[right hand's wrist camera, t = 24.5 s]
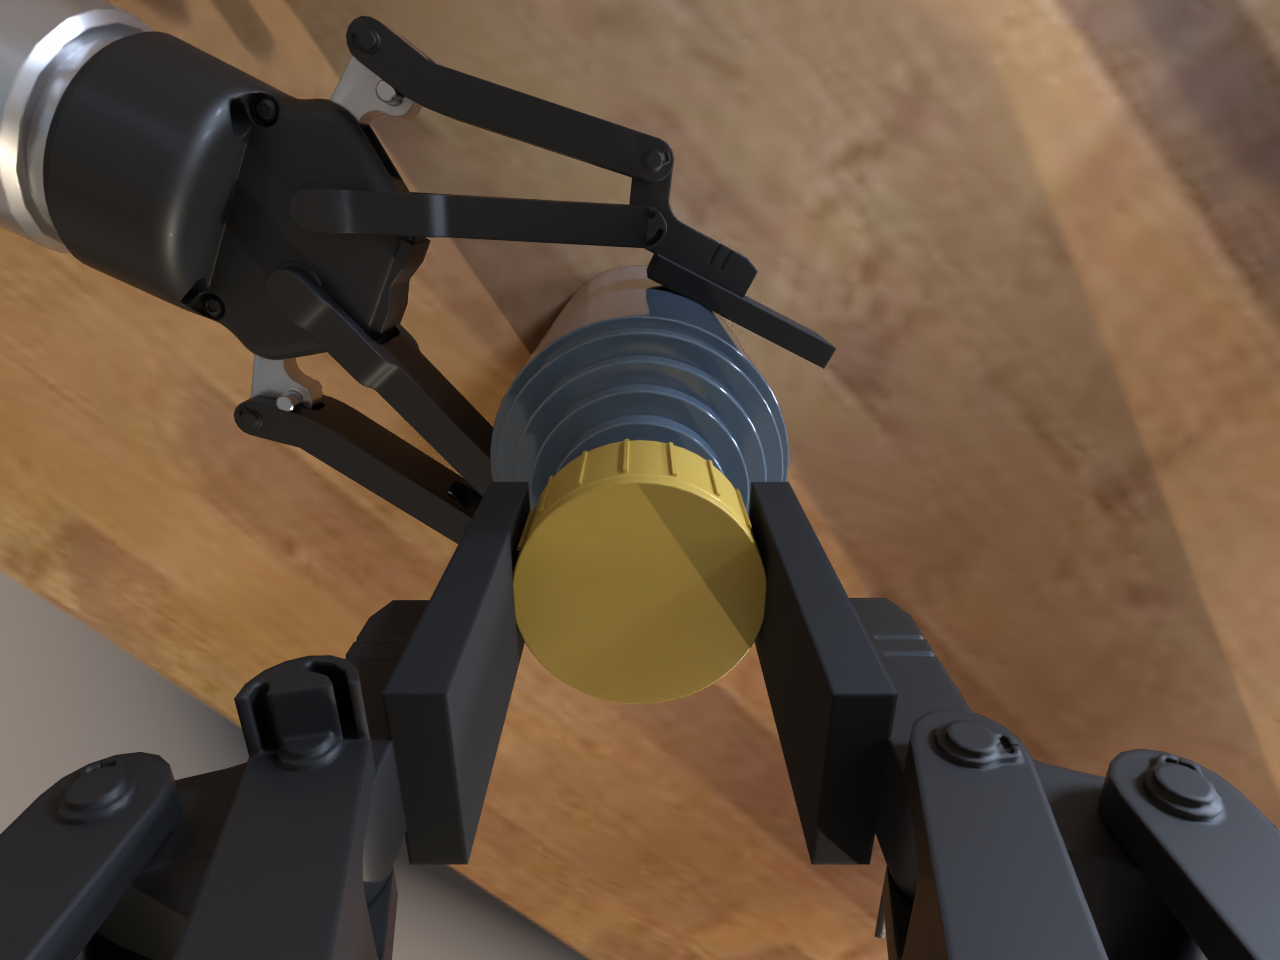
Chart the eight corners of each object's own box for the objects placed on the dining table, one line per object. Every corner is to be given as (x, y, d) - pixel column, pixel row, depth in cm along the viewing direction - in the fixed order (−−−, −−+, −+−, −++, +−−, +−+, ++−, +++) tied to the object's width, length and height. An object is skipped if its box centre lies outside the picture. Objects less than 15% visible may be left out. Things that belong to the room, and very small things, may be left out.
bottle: (600, 229, 29) (538, 285, 11) (763, 321, 31) (938, 500, 13) (520, 394, 32) (366, 651, 14) (674, 472, 33) (714, 796, 15)
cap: (553, 410, 14) (538, 447, 12) (783, 468, 14) (808, 516, 12) (506, 610, 15) (486, 676, 13) (713, 657, 16) (725, 728, 14)
